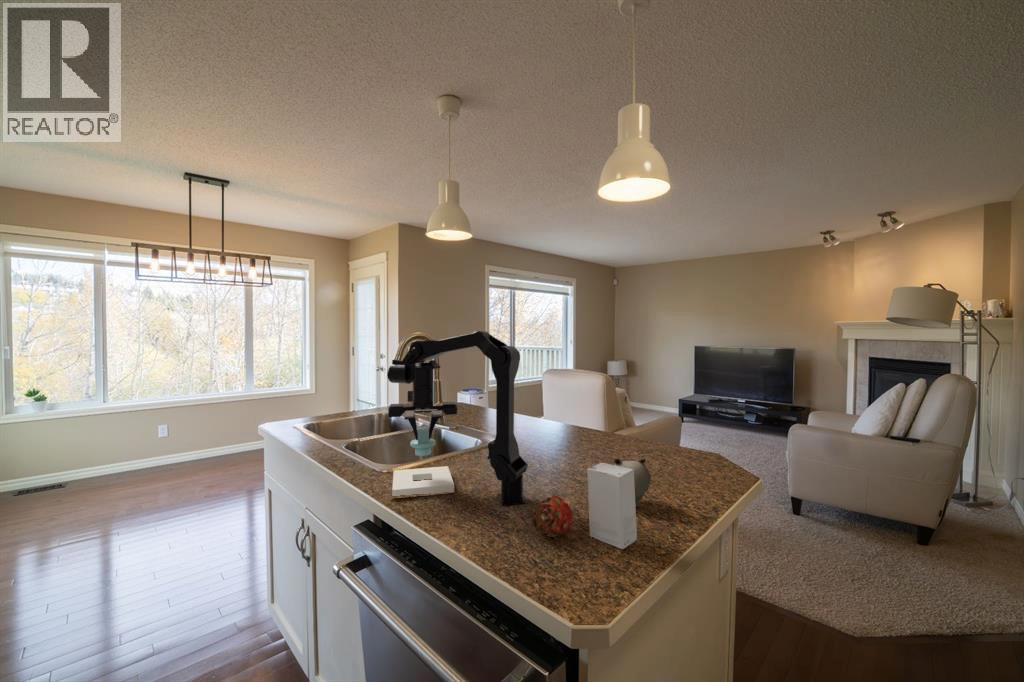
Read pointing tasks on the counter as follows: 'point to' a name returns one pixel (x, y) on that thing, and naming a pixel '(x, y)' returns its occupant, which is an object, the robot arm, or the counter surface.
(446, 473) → the white slab
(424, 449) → the cap
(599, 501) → the skincare box
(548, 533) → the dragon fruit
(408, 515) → the counter surface
